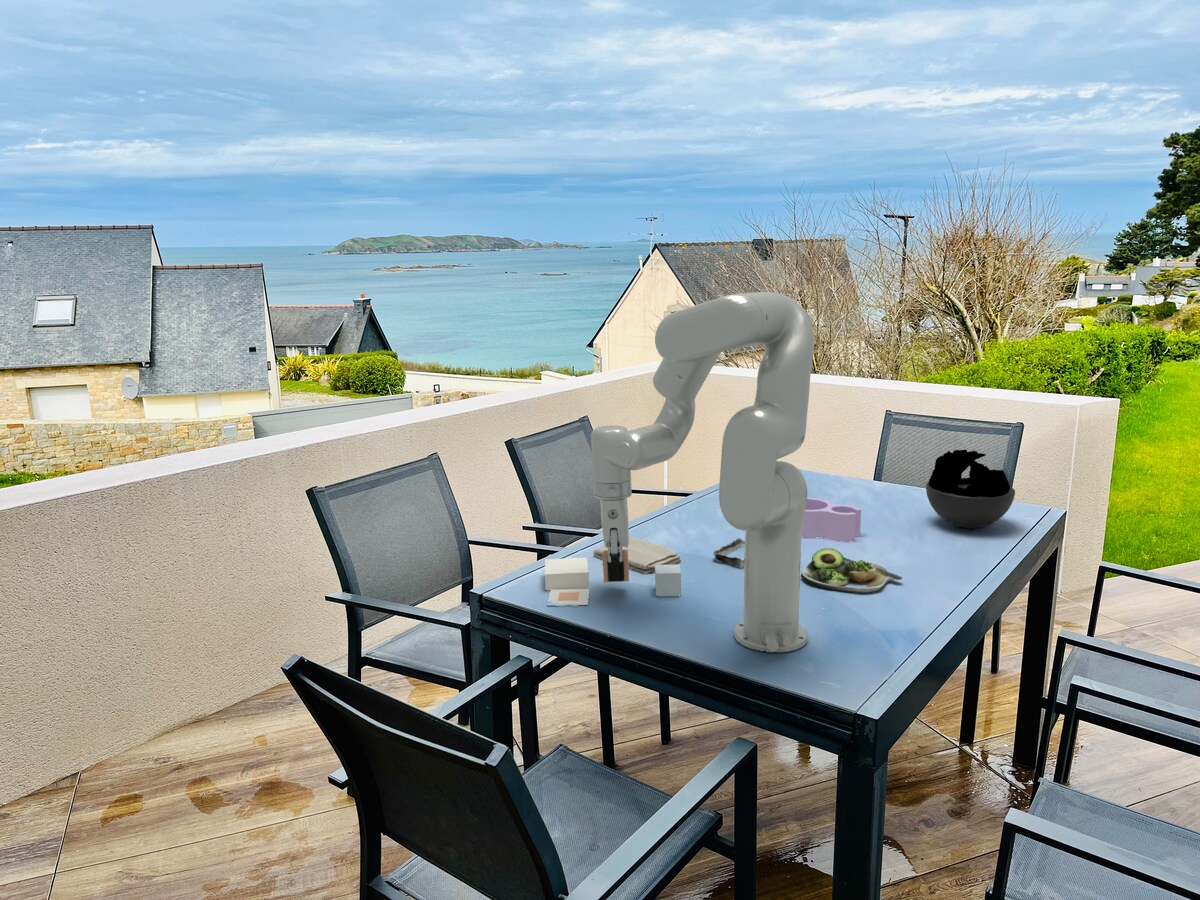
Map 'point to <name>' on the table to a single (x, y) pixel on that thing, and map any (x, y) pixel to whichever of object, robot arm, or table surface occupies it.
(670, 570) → the grey blue block
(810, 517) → the pink desk organizer
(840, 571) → the salad plate
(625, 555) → the terracotta block
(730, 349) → the robot arm
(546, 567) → the base block
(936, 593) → the table surface
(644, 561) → the washcloth
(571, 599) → the card
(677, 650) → the table surface
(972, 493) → the coal bowl
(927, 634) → the table surface
